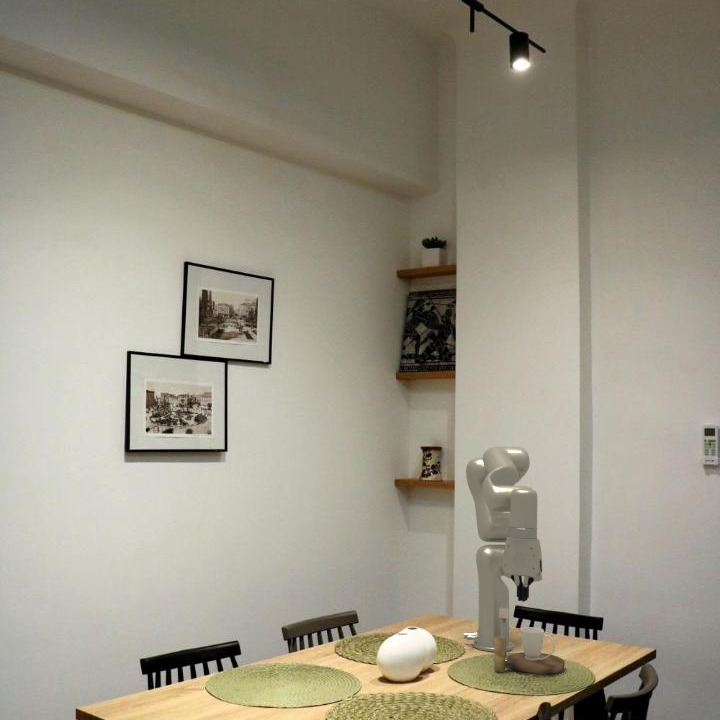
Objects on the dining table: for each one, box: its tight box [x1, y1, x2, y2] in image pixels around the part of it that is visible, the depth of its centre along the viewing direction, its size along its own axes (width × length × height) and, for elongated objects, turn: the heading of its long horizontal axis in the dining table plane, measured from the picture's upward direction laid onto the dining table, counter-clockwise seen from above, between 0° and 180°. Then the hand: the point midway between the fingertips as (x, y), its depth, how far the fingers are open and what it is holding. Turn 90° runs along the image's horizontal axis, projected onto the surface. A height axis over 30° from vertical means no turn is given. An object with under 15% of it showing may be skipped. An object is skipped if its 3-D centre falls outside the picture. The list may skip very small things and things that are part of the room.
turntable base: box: [506, 667, 567, 677], centre depth 244 cm, size 17×17×1 cm
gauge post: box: [499, 607, 510, 660], centre depth 254 cm, size 5×5×15 cm
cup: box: [519, 626, 556, 660], centre depth 244 cm, size 7×10×8 cm
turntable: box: [493, 636, 565, 674], centre depth 243 cm, size 22×16×9 cm
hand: (522, 600), depth 236 cm, fingers closed
